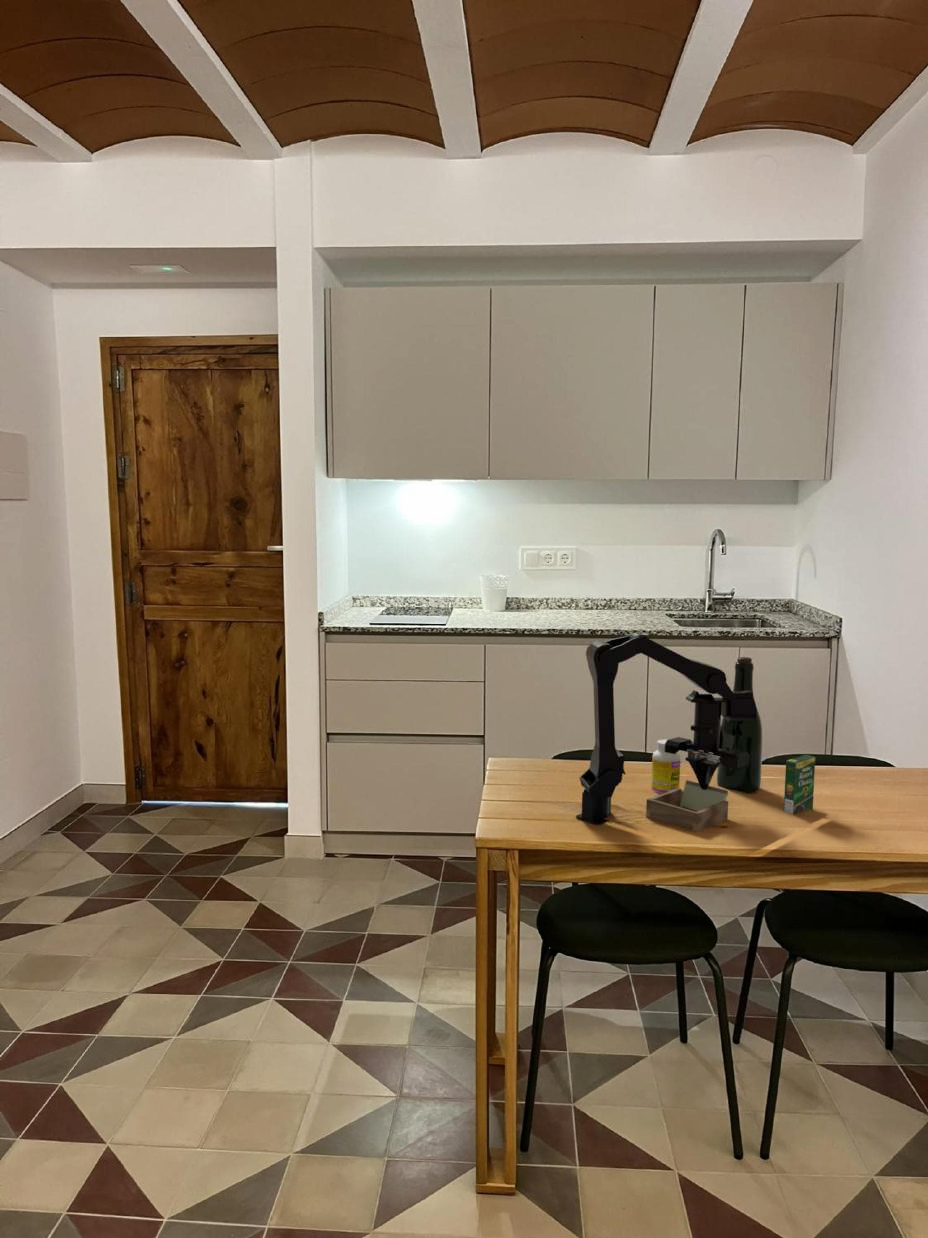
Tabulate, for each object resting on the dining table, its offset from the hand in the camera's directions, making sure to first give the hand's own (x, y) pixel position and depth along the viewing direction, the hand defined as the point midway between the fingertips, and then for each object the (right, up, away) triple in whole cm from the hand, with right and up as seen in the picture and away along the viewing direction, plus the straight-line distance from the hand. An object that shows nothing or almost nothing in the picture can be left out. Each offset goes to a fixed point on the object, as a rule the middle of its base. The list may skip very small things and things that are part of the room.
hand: (704, 789), depth 205 cm
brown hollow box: (-5, -7, -4) cm, 9 cm away
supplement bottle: (-5, -4, +17) cm, 18 cm away
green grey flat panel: (-1, -5, 0) cm, 5 cm away
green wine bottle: (+14, -4, +21) cm, 26 cm away
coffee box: (+22, -6, +3) cm, 23 cm away
